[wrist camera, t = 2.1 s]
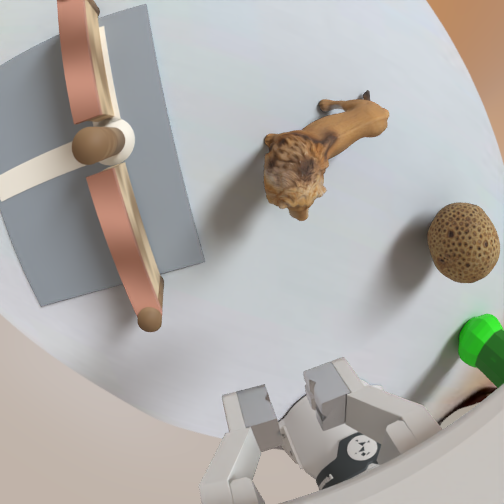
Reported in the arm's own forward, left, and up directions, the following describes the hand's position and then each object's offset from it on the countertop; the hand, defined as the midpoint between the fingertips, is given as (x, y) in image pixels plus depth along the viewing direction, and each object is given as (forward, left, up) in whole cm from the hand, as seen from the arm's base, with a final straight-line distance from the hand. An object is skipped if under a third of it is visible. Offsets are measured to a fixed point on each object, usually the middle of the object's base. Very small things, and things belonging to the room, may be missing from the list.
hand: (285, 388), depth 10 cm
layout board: (+9, +11, -19) cm, 24 cm away
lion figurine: (+6, -9, -19) cm, 22 cm away
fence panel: (+2, +7, -18) cm, 20 cm away
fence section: (+16, +7, -19) cm, 26 cm away
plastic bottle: (-29, -38, -19) cm, 52 cm away
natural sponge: (-6, -25, -19) cm, 32 cm away
